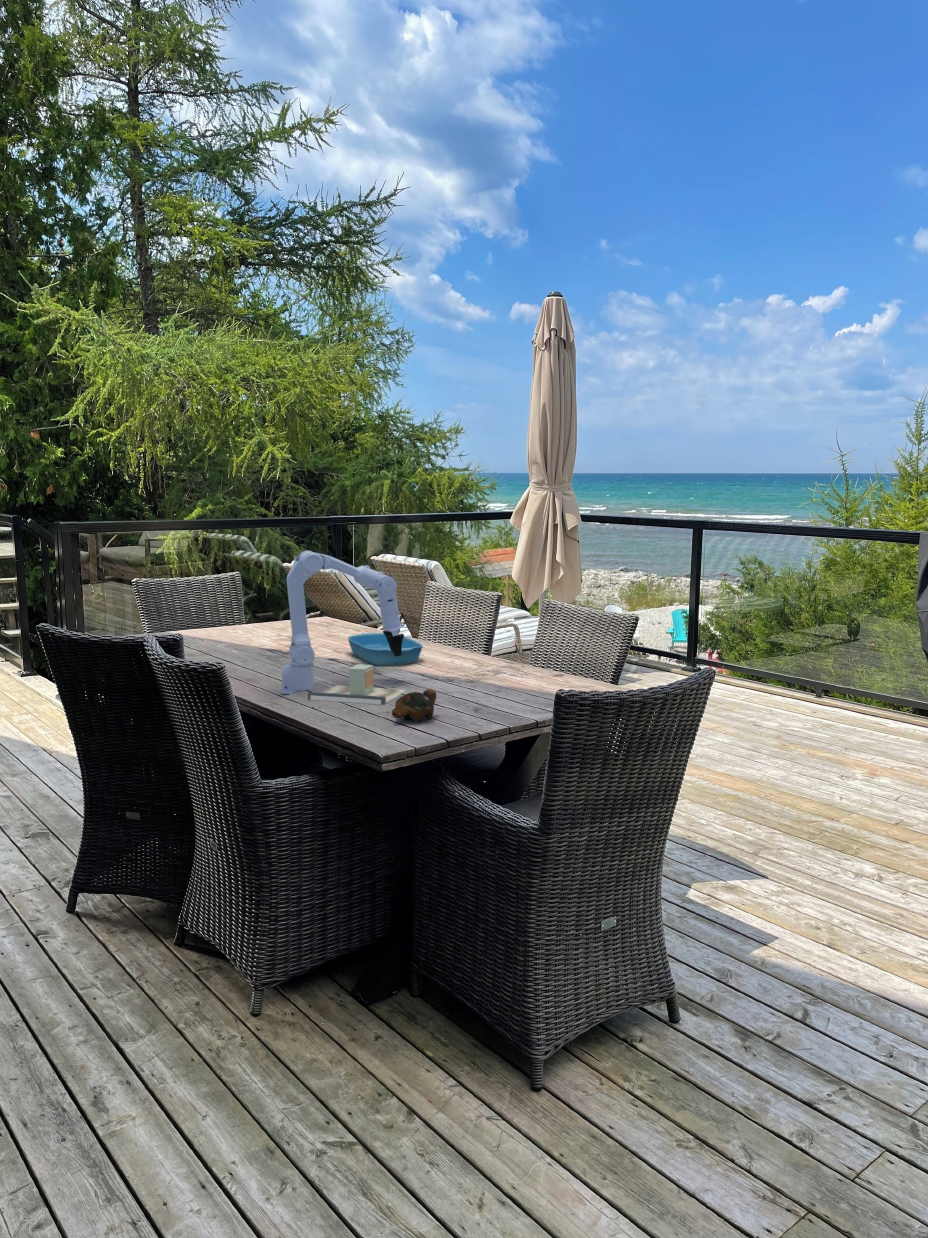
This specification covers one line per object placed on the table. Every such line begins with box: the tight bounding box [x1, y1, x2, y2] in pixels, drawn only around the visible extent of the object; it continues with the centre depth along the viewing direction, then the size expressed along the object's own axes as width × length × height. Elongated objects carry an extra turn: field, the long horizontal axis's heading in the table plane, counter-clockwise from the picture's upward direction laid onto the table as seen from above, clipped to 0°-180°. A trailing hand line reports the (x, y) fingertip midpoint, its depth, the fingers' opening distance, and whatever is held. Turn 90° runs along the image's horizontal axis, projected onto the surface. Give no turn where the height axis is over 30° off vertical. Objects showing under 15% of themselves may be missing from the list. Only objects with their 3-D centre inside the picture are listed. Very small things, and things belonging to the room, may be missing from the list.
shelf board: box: [320, 685, 407, 704], centre depth 275 cm, size 24×18×2 cm
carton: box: [348, 663, 374, 695], centre depth 276 cm, size 5×7×8 cm
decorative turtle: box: [391, 689, 437, 723], centre depth 250 cm, size 10×15×8 cm, turn 138°
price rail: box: [307, 691, 387, 705], centre depth 265 cm, size 24×1×4 cm, turn 75°
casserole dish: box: [347, 632, 424, 667], centre depth 339 cm, size 37×22×7 cm, turn 25°
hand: (396, 653), depth 292 cm, fingers open, 7 cm apart
